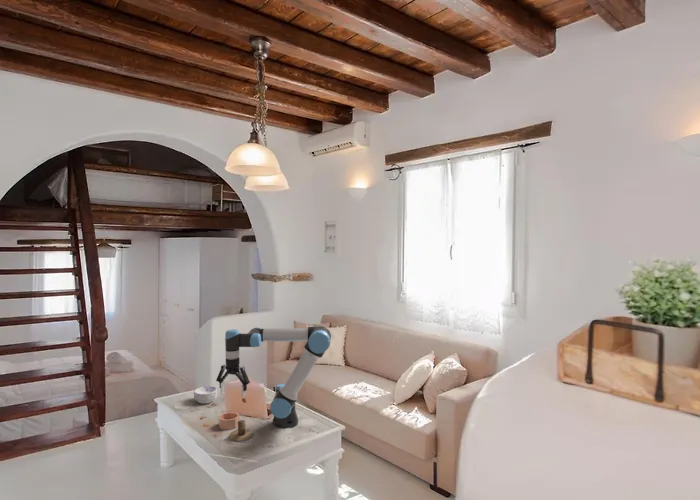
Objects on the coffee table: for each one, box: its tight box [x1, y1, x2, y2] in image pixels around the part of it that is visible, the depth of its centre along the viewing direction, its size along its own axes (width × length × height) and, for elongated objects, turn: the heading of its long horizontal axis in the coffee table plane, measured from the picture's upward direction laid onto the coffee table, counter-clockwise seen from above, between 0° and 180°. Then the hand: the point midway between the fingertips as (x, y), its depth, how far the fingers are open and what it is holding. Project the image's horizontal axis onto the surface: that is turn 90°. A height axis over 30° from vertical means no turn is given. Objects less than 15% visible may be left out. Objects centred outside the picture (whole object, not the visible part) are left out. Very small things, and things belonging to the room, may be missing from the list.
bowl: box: [218, 411, 240, 431], centre depth 251 cm, size 11×11×6 cm
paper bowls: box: [193, 385, 218, 405], centre depth 290 cm, size 15×15×8 cm
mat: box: [223, 428, 260, 444], centre depth 238 cm, size 14×14×1 cm
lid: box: [228, 419, 255, 442], centre depth 238 cm, size 13×13×8 cm
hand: (233, 395), depth 242 cm, fingers open, 13 cm apart
